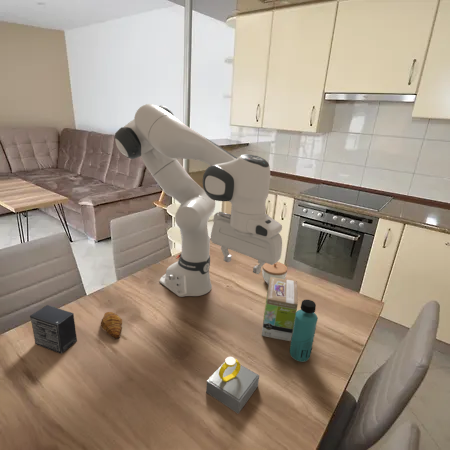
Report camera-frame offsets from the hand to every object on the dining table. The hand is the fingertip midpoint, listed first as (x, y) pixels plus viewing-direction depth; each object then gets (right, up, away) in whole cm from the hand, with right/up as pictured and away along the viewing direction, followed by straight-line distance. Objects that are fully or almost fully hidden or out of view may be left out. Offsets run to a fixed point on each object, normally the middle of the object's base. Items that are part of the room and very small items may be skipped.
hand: (241, 266), depth 84 cm
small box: (-56, -25, +10) cm, 62 cm away
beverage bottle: (+18, -29, +10) cm, 36 cm away
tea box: (+14, -24, +24) cm, 36 cm away
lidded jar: (+17, -14, +50) cm, 55 cm away
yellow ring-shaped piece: (-3, -29, -4) cm, 29 cm away
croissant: (-42, -23, +17) cm, 51 cm away
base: (-3, -32, -2) cm, 33 cm away
